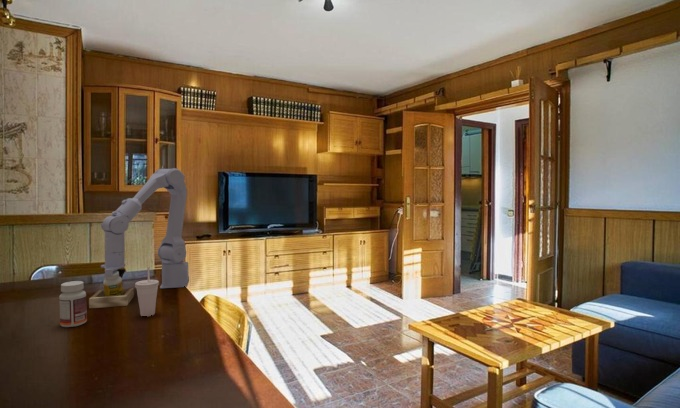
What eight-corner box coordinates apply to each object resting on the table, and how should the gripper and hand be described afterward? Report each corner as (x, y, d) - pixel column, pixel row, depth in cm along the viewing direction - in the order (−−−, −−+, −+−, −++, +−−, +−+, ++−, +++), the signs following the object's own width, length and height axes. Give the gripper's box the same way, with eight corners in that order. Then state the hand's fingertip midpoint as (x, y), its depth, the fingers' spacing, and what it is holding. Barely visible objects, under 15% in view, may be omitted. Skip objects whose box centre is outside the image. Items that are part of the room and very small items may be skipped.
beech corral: (134, 296, 134) (133, 287, 134) (126, 305, 124) (126, 296, 124) (99, 298, 131) (99, 289, 131) (89, 308, 121) (89, 298, 121)
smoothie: (164, 312, 117) (163, 266, 117) (145, 319, 111) (144, 270, 111) (149, 309, 120) (148, 264, 119) (130, 316, 114) (129, 268, 113)
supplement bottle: (119, 293, 133) (117, 267, 130) (126, 299, 130) (124, 273, 127) (102, 298, 129) (99, 272, 126) (109, 305, 126) (106, 278, 123)
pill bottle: (88, 318, 112) (87, 279, 111) (85, 325, 106) (84, 284, 106) (62, 321, 109) (61, 281, 109) (57, 329, 104) (56, 287, 103)
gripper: (107, 248, 137) (107, 286, 137) (94, 255, 123) (94, 298, 123) (130, 248, 139) (130, 286, 139) (119, 255, 125) (119, 297, 125)
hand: (114, 291), depth 132 cm, fingers closed, pressing on supplement bottle
